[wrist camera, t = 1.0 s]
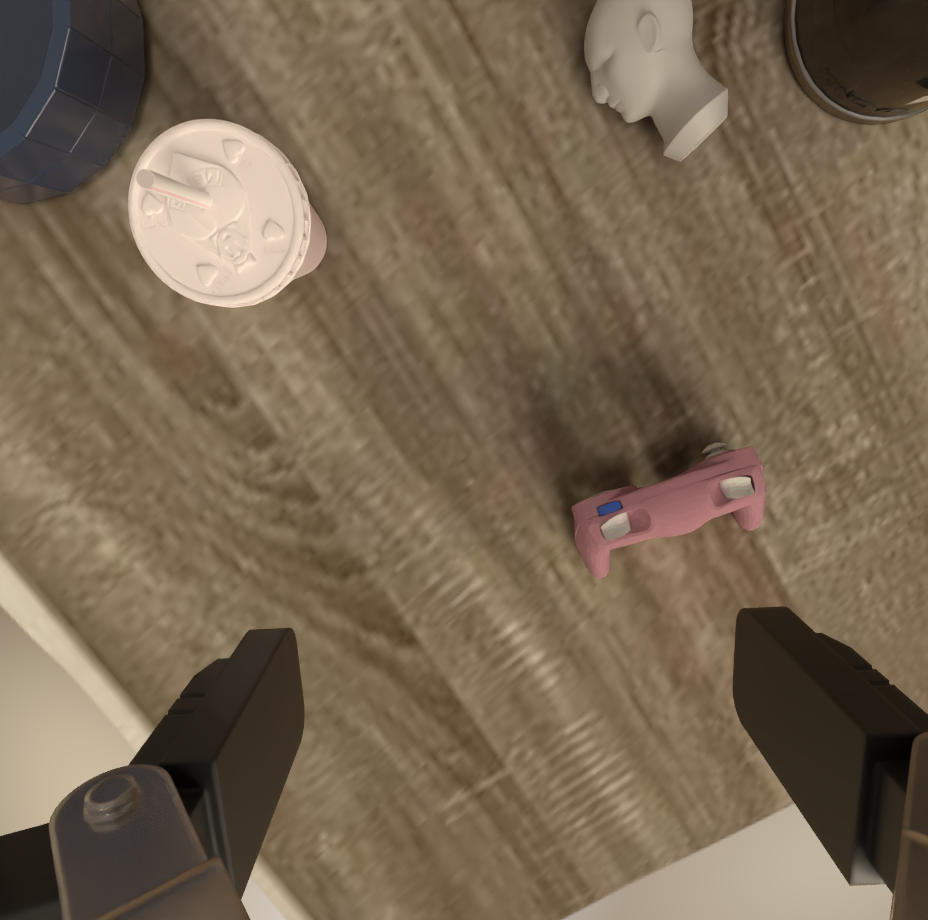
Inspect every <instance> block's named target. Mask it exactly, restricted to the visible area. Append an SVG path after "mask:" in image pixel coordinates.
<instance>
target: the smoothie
mask: <svg viewBox="0 0 928 920" xmlns="http://www.w3.org/2000/svg"><path fill="white" fill-rule="evenodd" d="M128 213H129V221H130V226H131V230H132V233H133V237H134V239H135V242H136V244H137V247H138V249H139V251H140V253H141V254H142V256H143V258H144V259H145V261H146V263H147V264H148V265H149V267H150V268H151V269H152V270H153V272H154V273H155V274H156V275H157V276H158V277H159V278H160V279H161V280H162V281H163V282H164V283H165V284H167V285H168V286H169V287H170V288H172V289H173V290H175V291H176V292H178V293H180V294H181V295H183V296H185V297H187V298H190V299H192V300H194V301H197V302H201V303H204V304H209V305H215V306H222V307H230V308H236V307H243V306H250V305H255V304H257V303H260V302H262V301H264V300H266V299H269V298H271V297H273V296H275V295H276V294H277V293H278V292H279V291H281V290H282V289H283V288H284V287H285V286H287V285H288V284H289V283H290V282H291V281H292V280H294V279H296V278H299V277H301V276H304V275H306V274H308V273H310V272H311V271H313V270H314V269H315V268H316V267H317V266H318V265H319V264H320V262H321V261H322V259H323V257H324V254H325V251H326V246H327V236H326V231H325V227H324V225H323V223H322V221H321V219H320V217H319V216H318V215H317V213H316V212H315V210H314V209H313V207H312V206H311V205H310V203H309V201H308V196H307V193H306V190H305V188H304V186H303V184H302V181H301V179H300V177H299V175H298V172H297V171H296V169H295V168H294V167H293V165H292V164H291V163H290V161H289V160H288V159H287V158H286V156H285V155H284V154H283V152H282V151H281V150H279V149H278V148H277V147H276V146H274V145H273V144H272V143H271V142H269V141H268V140H267V139H265V138H264V137H263V136H261V135H259V134H257V133H254V132H253V131H251V130H249V129H247V128H245V127H243V126H241V125H238V124H235V123H232V122H229V121H224V120H218V119H197V120H191V121H187V122H184V123H181V124H178V125H176V126H174V127H171V128H170V129H168V130H166V131H165V132H163V133H162V134H161V135H159V136H158V137H157V138H156V139H155V140H154V141H153V142H151V143H150V145H149V146H148V147H147V148H146V149H145V151H144V152H143V154H142V155H141V157H140V159H139V160H138V162H137V164H136V167H135V169H134V172H133V174H132V178H131V182H130V187H129V194H128Z"/></svg>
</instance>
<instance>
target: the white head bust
mask: <svg viewBox="0 0 928 920" xmlns="http://www.w3.org/2000/svg"><path fill="white" fill-rule="evenodd" d="M692 29H693V8H692V2H691V0H597V2H596V4H595V6H594V9H593V11H592V13H591V16H590V18H589V21H588V25H587V29H586V33H585V41H584V55H585V60H586V64H587V66H588V69H589V71H590V75H591V86H592V95H593V98H594V100H595V101H596V102H597V103H600V104H603V103H608V105H609V106H610V107H611V108H615V109H616V111H618V112H620V113H621V115H622V117H623V119H624V120H625V121H626V122H628V123H632V122H635V121H638V120H640V119H642V118H644V117H647V116H650V117H652V119H653V121H654V123H655V125H656V127H657V129H658V131H659V133H660V135H661V137H662V138H663V141H664V147H663V155H664V156H666V157H669V158H671V159H673V160H676V161H678V162H681V161H682V160H683V159H685V158H686V157H687V156H688V155H689V154H690V153H691V152H692V151H693V150H694V149H696V148H697V147H698V146H699V145H700V144H701V143H702V142H703V141H704V140H705V139H706V138H707V137H708V136H709V135H710V134H711V133H713V132H714V131H715V130H716V129H717V128H718V126H719V125H720V124H721V123H722V122H723V121H724V120H725V119H726V118H727V113H728V89H727V88H726V87H725V86H723V85H722V84H720V83H719V82H717V81H716V80H715V79H714V78H712V77H711V76H710V75H709V73H708V72H707V71H706V70H705V69H704V67H703V66H702V64H701V63H700V61H699V59H698V57H697V55H696V53H695V50H694V47H693V42H692Z"/></svg>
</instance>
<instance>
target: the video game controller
mask: <svg viewBox="0 0 928 920" xmlns="http://www.w3.org/2000/svg"><path fill="white" fill-rule="evenodd" d="M725 446H727V444H726V443H719V442H717V443H713V444H711V445H708V446H707V447H706V448H705V449H704V451H703V452H702V454H707V453H710V454H709V455H708V456H707V457H705V459H704V460H703V461H701V462H700V463H699V464H697V465H695V466H693V467H691V468H689V469H688V470H686V471H685V472H683V473H682V474H680V475H678V476H675V477H673V478H671V479H668V480H665V481H662V482H659V483H656V484H653V485H650V486H647V487H641V488H637V487H636V486H634V485H632V486H625V487H622V488H618V489H615V490H607V491H603V492H600V493H598V494H595V495H593V496H591V497H590V498H588V499H586V500H584V501H581V502H579V503H577V504H575V505H574V506H572V507H571V510H572V513H573V516H574V519H575V521H574V532H575V542H576V546H577V548H578V550H579V552H580V554H581V556H582V558H583V560H584V562H585V565H586V566H587V568H588V570H589V571H590V573H591V574H593V575H594V576H595V577H597V578H599V579H600V578H605V577H606V575H607V573H608V572H609V570H610V550H611V549H614V548H619V547H623V546H627V545H631V544H634V543H637V542H640V541H643V540H647V539H650V538H655V537H672V536H680V535H683V534H687V533H690V532H692V531H693V530H695V529H697V528H699V527H701V526H702V525H703V524H705V523H706V522H707V521H709V520H710V519H712V518H715V517H718V516H721V515H724V514H727V513H730V512H733V515H734V517H735V519H736V521H737V523H738V524H739V525H740V527H742V528H744V529H746V530H748V531H752V530H754V529H756V528H757V527H758V526H759V525H760V524H761V521H762V518H763V511H764V501H765V491H766V485H765V479H764V475H763V472H762V471H763V465H762V463H761V461H760V459H759V457H758V455H757V453H756V451H755V448H754V447H747V448H742V449H738V450H725V449H721V448H723V447H725Z"/></svg>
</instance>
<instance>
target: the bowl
mask: <svg viewBox="0 0 928 920" xmlns="http://www.w3.org/2000/svg"><path fill="white" fill-rule="evenodd" d="M144 76H145V61H144V30H143V19H142V16H141V12H140V9H139V6H138V3H137V0H0V202H5V203H16V204H27V203H31V202H35V201H39V200H42V199H46V198H50V197H54V196H58V195H62V194H65V193H68V192H70V191H71V190H73V189H74V188H75V187H77V186H78V185H80V184H81V183H82V182H84V181H85V180H87V179H88V178H89V177H91V176H92V175H93V174H95V173H96V172H98V171H99V170H100V169H102V168H103V167H104V166H106V165H107V163H108V162H109V160H110V159H111V157H112V156H113V154H114V153H115V151H116V150H117V148H118V147H119V145H120V144H121V142H122V141H123V140H124V138H125V137H126V135H127V134H128V132H129V131H130V129H131V126H132V124H133V121H134V117H135V113H136V109H137V106H138V102H139V98H140V94H141V91H142V87H143V83H144V79H145V77H144Z"/></svg>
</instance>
